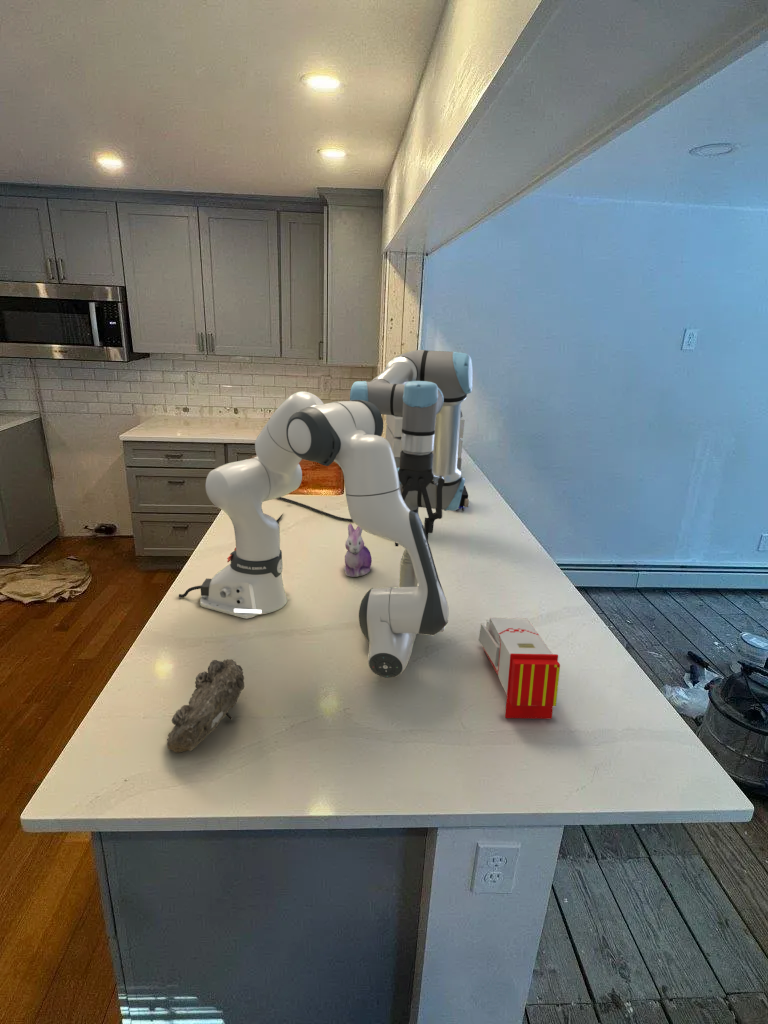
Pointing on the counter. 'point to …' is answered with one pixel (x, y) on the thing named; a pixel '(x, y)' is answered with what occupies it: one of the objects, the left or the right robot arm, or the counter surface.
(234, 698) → the fossil
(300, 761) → the counter surface
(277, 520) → the feather
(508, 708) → the toy
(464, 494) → the figurine character
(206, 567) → the counter surface
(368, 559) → the figurine
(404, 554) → the bottle
